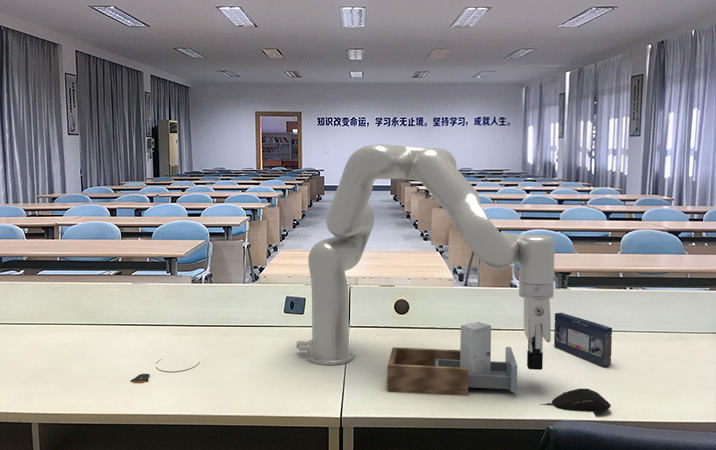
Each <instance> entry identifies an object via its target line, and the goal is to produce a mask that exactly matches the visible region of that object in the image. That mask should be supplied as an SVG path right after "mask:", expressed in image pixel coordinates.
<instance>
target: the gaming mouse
mask: <svg viewBox="0 0 716 450" xmlns="http://www.w3.org/2000/svg"><path fill="white" fill-rule="evenodd" d="M539 405H541V406H553V407H555V408H557V409H559V410H564V411H572V412H591V413H595V414H598V413H603V412H607V411H608V410H609V409H610V408H611V407H612V405H611V404H610V402H609V401H608V400H607V399H605V398H604V397H603V396H602V395H601V394H600V393H599V392H597V391H595V390H592V389H590V388H576V389H572V390H568V391H566V392H565V391H564V392H562V393H561V394H559V395H558V396H556V397H554V398H553V399H552V400H551V402H547V403H541V404H540V403H539Z"/></svg>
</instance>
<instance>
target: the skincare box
mask: <svg viewBox="0 0 716 450" xmlns="http://www.w3.org/2000/svg"><path fill="white" fill-rule="evenodd" d="M459 347H460V348H459V350H460V367H466V368H468V374H481V375H490V363H491V361H492V360H491V356H492V355H491V354H492V351H491V350H492V349H491V348H492V325H490V324H488V323H487V324H486V323H484V322H478V321H477V322H471V323H466V324H461V325H460V346H459Z"/></svg>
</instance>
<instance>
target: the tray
mask: <svg viewBox="0 0 716 450" xmlns="http://www.w3.org/2000/svg"><path fill="white" fill-rule="evenodd" d="M517 363H518V362H517V360H516V357H515V355H514V352H513V350H512V347H511V346H505V361H495V360H494V361H493V360H491V363H490V375H481V374H468V388H478V389H479V388H481V389H495V390H496V389H497V390H498V389H500V390H510V393H517V391H518V386H517V385H518V364H517ZM435 366H444V367H460V360H451V359H435Z"/></svg>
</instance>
